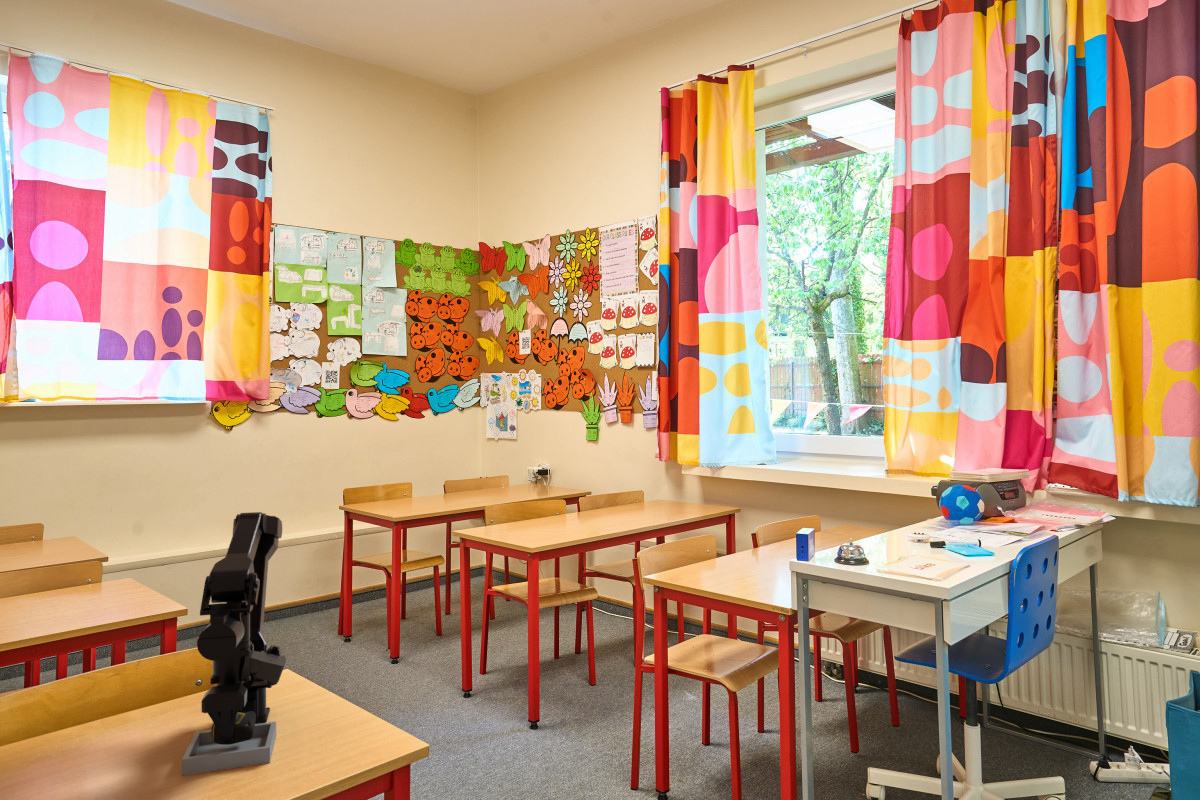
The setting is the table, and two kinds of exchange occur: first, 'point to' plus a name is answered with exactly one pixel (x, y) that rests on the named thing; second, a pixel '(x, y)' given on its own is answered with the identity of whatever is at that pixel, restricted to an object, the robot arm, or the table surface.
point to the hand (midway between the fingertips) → (231, 733)
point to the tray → (229, 751)
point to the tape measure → (238, 729)
